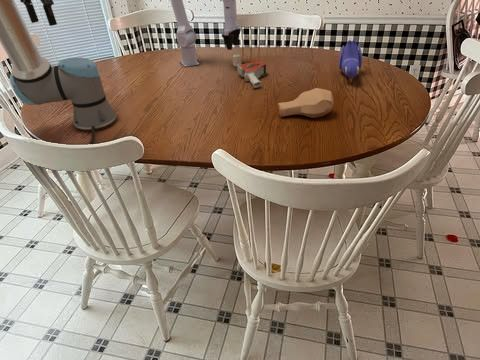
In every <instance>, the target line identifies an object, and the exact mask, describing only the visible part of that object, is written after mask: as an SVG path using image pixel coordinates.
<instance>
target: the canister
mask: <svg viewBox="0 0 480 360" xmlns="http://www.w3.org/2000/svg"><path fill="white" fill-rule="evenodd" d="M238 64H242V55H241V54H239V53H238V54H233V55H232V65H233V67H237V65H238Z"/></svg>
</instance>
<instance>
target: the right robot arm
mask: <svg viewBox="0 0 480 360" xmlns="http://www.w3.org/2000/svg"><path fill="white" fill-rule="evenodd" d="M221 1H222V2H223V3H222V4H223V17H224V29H223V33H221V38H222V39H223V41H224V43H225V47H226V49H227V50H228V51H232V50H233V46H238V43H239V37H240V34H241V31H242V28H241V26H239V22H238V15H237V13H238V12H237V0H221ZM170 3H171V7H172V10H173V14H174V18H175V21H176V24H177V30H176V36H177V37H176V42H177V44H178V46H179V47H180V53H181V60H180V63H181V64H182V66H183V67H184V68H187V67H192V66H197V65H200V62H199V61H198V57H197V50H196V41H197V34H196V32H195V31H194V28H193V26H192V25H191V24H190V23H189V20H188V16H187V12H186V7H185V5H184V4H185V3H184V1H183V0H170Z"/></svg>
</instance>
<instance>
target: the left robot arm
mask: <svg viewBox="0 0 480 360" xmlns="http://www.w3.org/2000/svg"><path fill="white" fill-rule="evenodd" d="M19 1H20V3H21V4H22V3H23V5H24V6H25V9H26V12H27V14H28V17H29V20H30V22H31V23H32V24H34V23H39V22H40V21H39V17H38V15H37V12H36V9H35V6H34V4H33V1H32V0H19ZM39 2H40V3H42V8H43V11H44V13H45V17H46V20H47V22H48V25H49V26H50V27H52V26H57V25H58V23H57V20H56V16H55V13H54V10H53V7H52V6H53V5H55V3H54V1H53V0H39ZM0 45H1V46H2V48H3V50H4V52H5V53H6V56H7V57H8V58H9V61H10V62H11V64H12V67H11V71H10V72H11V73H10V75H9V81H10V85H11V87H12V88H13V92H14V94H15V96H17V98H18V99H19V100H20V101H21V102H22V103H24V104H25V105H26V106H27V105H28V106H37V105H38V106H41V105H44V104H51V103H57V102H64V101H71V104H72V108H73V114H72V117H73V118H72V119H73V125H74V128H75V129H76V131H78V132H84V133H91V136H90V142H89V144H90V145H91V144H92V145H94V142H95V133H96V132H99V131H102V130H105V129H107V128H110V127H111V126H113V125H115V124H116V122H117V121H118V116H117V113H116V111H115V110H114V108H113V107H112V105H111V103H110V102H109V101H108V99H107V96H106V92H105V90H104V87H103V86H104V85H103V83H102V79H101V73H100V71H99V70H98V66H97V64H96V63H95V61H94V60H92V59H89V58H87V57H68V58H63V59H60V60H59V61H58V63H57V65H52V64H51V63H50V61H49V60H48V59H47V58H45V57H43V56H42V55H41V54H40V51H39V50H38V49H39V48H38V47H37V45H36V43H35V41H34V39H33V37H32V35H31V32H30V30H29V29H28V26H27V25H26V22H25V20H24V18H23V16H22V14H21V11H20V10H19V8H18V6H17V4H16V2H15V0H0Z"/></svg>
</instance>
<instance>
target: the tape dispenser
mask: <svg viewBox="0 0 480 360" xmlns="http://www.w3.org/2000/svg"><path fill="white" fill-rule="evenodd" d="M251 65H255V66H252V67H251ZM236 69H237V71H236V72H237V75H239V76H240V77H241V78H244V81H245V82H250V83H251V86H252V88H253V89H258V88H260V87H262V82H261V81H260V80H259V78H261V76H265V75H267V74H266V73H267V63H266V62H265V61H264V60H260V61H253V62H247V63H241V64H238V65H237V66H236Z"/></svg>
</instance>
